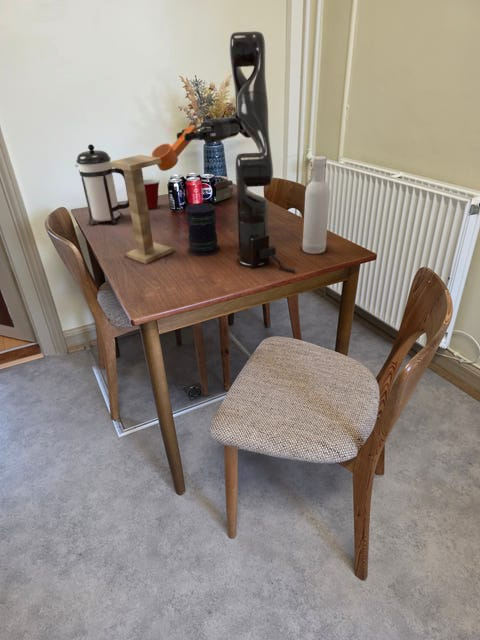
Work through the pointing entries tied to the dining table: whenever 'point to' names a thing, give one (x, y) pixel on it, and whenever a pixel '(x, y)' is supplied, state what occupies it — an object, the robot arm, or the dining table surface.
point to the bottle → (316, 210)
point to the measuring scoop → (172, 151)
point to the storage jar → (201, 228)
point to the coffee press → (99, 185)
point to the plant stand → (140, 208)
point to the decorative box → (222, 188)
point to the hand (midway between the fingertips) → (181, 137)
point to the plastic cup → (151, 192)
